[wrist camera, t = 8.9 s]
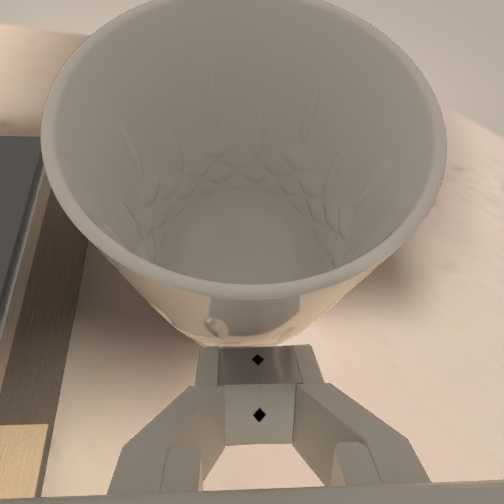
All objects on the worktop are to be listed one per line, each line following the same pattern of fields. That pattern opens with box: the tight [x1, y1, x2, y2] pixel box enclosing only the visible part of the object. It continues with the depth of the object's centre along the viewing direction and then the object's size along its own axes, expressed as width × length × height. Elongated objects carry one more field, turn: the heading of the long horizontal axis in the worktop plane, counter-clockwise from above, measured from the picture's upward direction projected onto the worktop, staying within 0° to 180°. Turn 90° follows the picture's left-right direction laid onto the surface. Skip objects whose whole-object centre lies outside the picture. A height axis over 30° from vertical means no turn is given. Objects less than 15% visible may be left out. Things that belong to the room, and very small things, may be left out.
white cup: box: [41, 0, 447, 347], centre depth 12 cm, size 8×8×10 cm
